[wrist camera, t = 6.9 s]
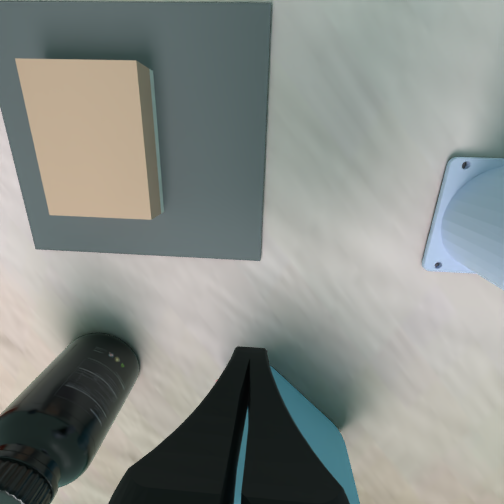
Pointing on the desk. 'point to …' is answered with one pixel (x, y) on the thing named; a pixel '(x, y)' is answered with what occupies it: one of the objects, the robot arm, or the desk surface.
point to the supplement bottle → (63, 418)
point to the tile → (94, 136)
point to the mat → (158, 119)
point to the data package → (309, 439)
